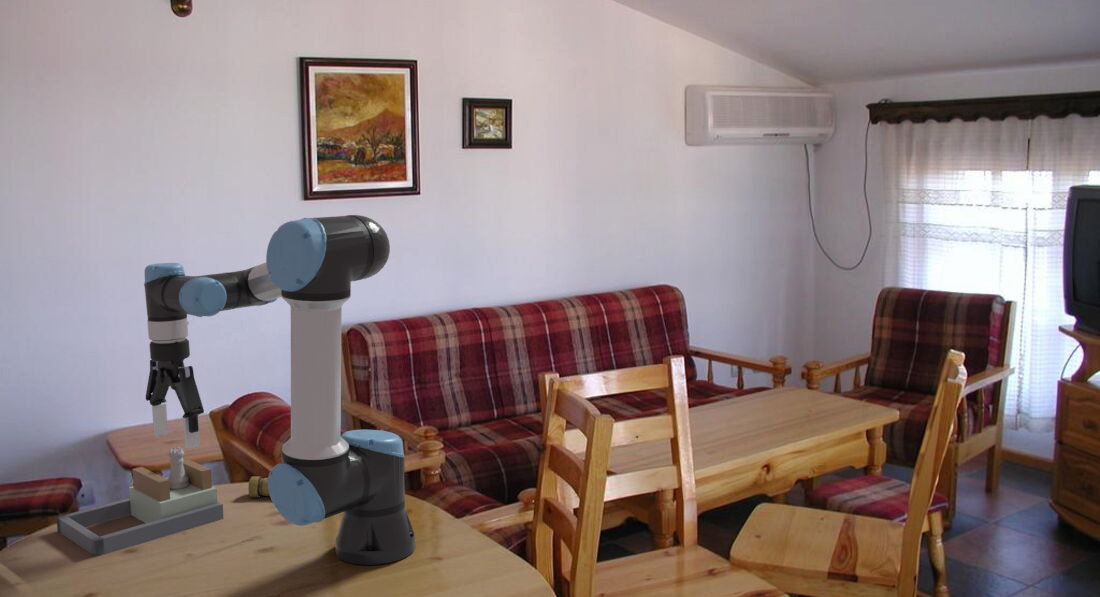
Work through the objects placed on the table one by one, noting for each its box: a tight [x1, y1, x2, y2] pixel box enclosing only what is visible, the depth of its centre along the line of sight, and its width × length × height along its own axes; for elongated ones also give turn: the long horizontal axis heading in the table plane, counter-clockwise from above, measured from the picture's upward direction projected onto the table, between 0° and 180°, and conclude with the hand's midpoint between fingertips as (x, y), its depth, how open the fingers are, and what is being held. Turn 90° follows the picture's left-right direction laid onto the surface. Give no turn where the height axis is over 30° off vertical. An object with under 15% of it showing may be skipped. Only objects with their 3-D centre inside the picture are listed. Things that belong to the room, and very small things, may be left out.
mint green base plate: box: [128, 456, 219, 524], centre depth 208 cm, size 14×12×10 cm
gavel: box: [247, 475, 270, 498], centre depth 231 cm, size 21×5×10 cm
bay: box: [56, 497, 225, 558], centre depth 203 cm, size 18×26×4 cm
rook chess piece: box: [167, 446, 189, 490], centre depth 208 cm, size 4×4×8 cm
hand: (176, 441), depth 207 cm, fingers open, 13 cm apart
